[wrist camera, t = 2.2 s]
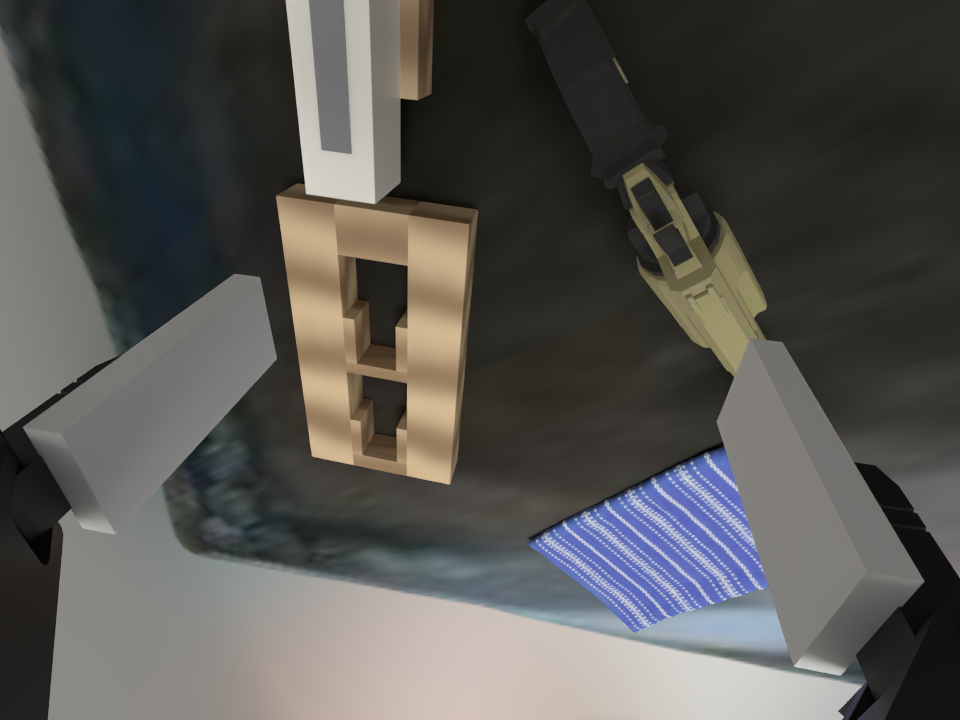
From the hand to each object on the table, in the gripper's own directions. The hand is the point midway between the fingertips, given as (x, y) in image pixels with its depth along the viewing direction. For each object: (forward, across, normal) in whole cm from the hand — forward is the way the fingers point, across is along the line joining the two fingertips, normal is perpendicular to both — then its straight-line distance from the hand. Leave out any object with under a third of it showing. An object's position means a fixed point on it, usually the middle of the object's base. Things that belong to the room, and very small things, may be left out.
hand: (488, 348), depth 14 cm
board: (+23, -11, -15) cm, 29 cm away
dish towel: (+23, +17, -33) cm, 44 cm away
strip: (+22, -10, +7) cm, 25 cm away
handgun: (+23, +10, -4) cm, 25 cm away
